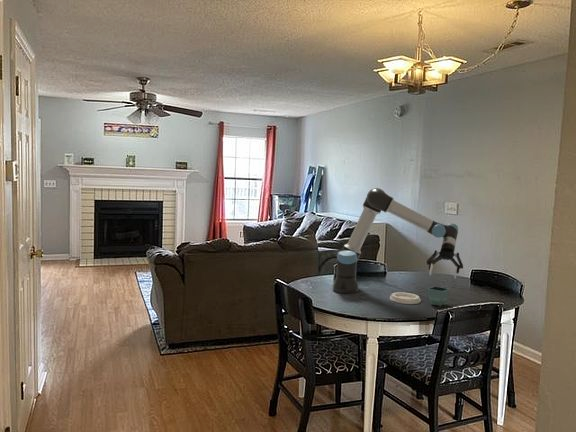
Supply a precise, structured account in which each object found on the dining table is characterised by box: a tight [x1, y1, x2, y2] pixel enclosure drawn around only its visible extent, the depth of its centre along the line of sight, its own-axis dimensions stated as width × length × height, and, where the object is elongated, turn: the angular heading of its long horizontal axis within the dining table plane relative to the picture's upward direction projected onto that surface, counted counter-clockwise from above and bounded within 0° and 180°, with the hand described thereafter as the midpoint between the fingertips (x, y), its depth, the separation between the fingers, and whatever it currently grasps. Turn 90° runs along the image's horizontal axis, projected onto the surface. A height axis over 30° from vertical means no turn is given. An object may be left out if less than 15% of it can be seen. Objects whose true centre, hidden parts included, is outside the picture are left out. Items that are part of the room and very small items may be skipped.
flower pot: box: [427, 286, 450, 307], centre depth 271 cm, size 9×9×9 cm
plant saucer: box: [389, 291, 422, 305], centre depth 279 cm, size 17×17×2 cm
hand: (442, 275), depth 279 cm, fingers open, 13 cm apart
